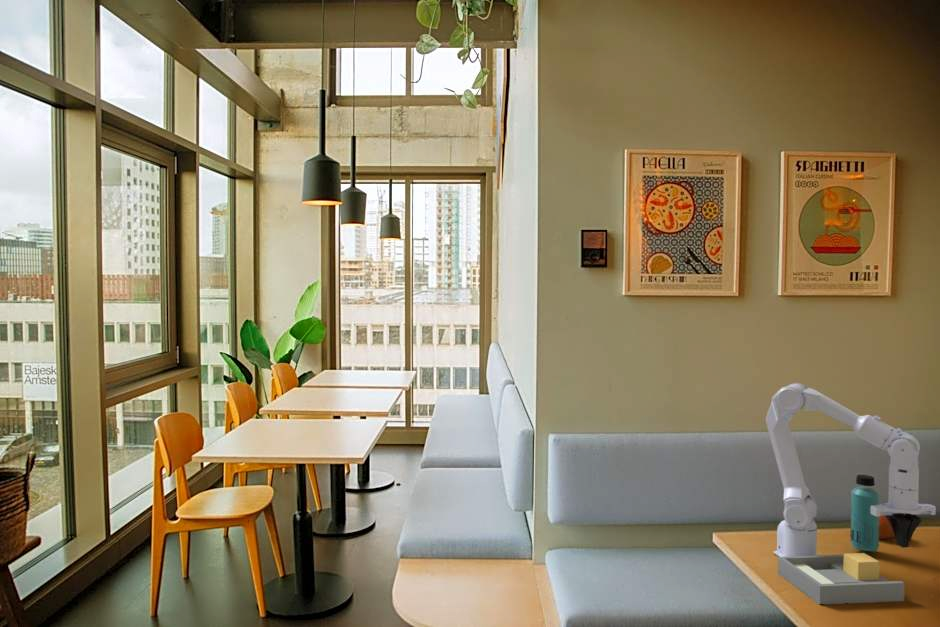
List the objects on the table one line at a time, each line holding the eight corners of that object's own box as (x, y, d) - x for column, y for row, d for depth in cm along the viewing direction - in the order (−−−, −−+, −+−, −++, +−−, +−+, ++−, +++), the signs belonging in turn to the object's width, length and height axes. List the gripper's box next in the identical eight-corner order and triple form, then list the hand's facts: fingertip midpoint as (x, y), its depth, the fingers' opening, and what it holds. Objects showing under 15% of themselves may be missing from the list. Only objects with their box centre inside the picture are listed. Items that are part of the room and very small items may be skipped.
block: (843, 570, 152) (843, 553, 152) (863, 570, 152) (863, 552, 152) (858, 580, 147) (858, 562, 147) (878, 579, 147) (879, 561, 147)
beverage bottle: (883, 553, 169) (885, 476, 168) (871, 559, 165) (872, 480, 164) (857, 545, 174) (858, 471, 174) (844, 551, 170) (846, 474, 170)
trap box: (777, 573, 156) (778, 556, 156) (854, 570, 158) (854, 554, 158) (819, 604, 140) (820, 586, 140) (904, 601, 142) (904, 582, 142)
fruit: (905, 544, 175) (906, 514, 175) (869, 541, 177) (869, 512, 177) (890, 532, 184) (890, 504, 184) (855, 530, 186) (856, 502, 185)
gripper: (886, 493, 145) (885, 553, 146) (947, 491, 147) (945, 551, 147) (864, 484, 152) (863, 541, 153) (922, 482, 154) (921, 539, 154)
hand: (902, 545), depth 150 cm, fingers closed
